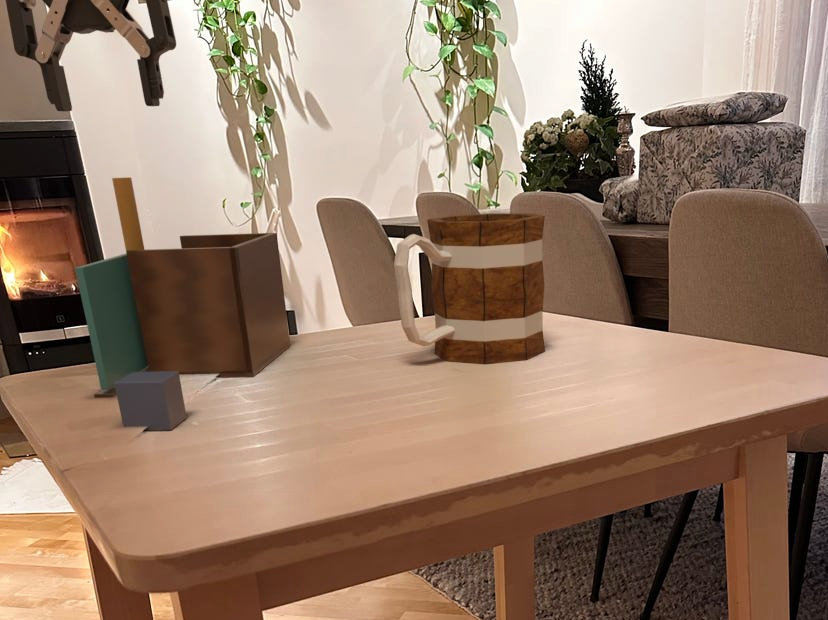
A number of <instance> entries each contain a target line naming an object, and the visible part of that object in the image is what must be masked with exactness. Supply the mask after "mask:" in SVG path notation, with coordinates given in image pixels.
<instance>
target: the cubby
mask: <svg viewBox="0 0 828 620" xmlns="http://www.w3.org/2000/svg"><path fill="white" fill-rule="evenodd" d="M179 240H180V246H181V247H180V248H156V249H155V248H154V249H152V248H151V249H144V250H127V251H126V250H125V254H127V259H128V264H129V269H130V274H131V280H132V285H133V290H134V295H135V300H136V306H137V311H138V316H139V321H140V327H141V332H142V337H143V342H144V347H145V353H146V358H147V363H148V367H146V368H144V369H143V370H141V371H139V372H158V371H178V372H179V376H181V375H216V376H214V378H216V379H217V378H254V377H255V376H256V375H257V374H259V373H260V372H261V371H262V370H264V368H267V366H268V365H269V364H271V363H272V362H273V361H274V360H275V359H276V358H278V357H279V356H280V355H282V354H283V353H284V352H285V351H286V350H287V349H288V348H291V339H290V332H289V331H290V330H289V322H288V315H287V306H286V298H285V291H284V283H283V275H282V274H283V273H282V266H281V257H280V249H279V242H278V241H279V240H278V234H277V232H259V233H255V232H253V233H227V234H226V233H224V234H223V233H222V234H191V235H186V234H185V235H179ZM93 397H94V398H95V399H101V398H102V399H103V398H105V399H106V398H107V399H108V398H115V397H117V394H116V389H115V386H114V387H112V388H110V389H108V390H101V389H100V390H99V391H97V392H96V393H94V394H93Z"/></svg>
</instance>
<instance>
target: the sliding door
mask: <svg viewBox="0 0 828 620" xmlns="http://www.w3.org/2000/svg"><path fill="white" fill-rule="evenodd" d="M111 180H112V181H111V182H112V185H113V190H114V195H115V201H116V207H117V212H118V216H119V221H120V222H119V223H120V227H121V232H122V237H123V243H124V247H125V252H126V251H127V250H145V245H144V240H143V234H142V227H141V223H140V217H139V212H138V207H137V202H136V196H135V190H134V185H133V179H132V177H131V176H129V177H128V176H127V177H126V176H125V177H112V178H111ZM74 271H75V275H76V279H77V283H78V284H77V285H78V289H79V293H80V298H81V303H82V308H83V313H84V316H85V320H86V326H87V330H88V335H89V339H90V344H91V349H92V353H93V358H94V363H95V368H96V372H97V376H98V381H99V386H100V391H101V390H108V389H110V388H112V387H114V386H115V384H114V383H115V382H117V381H118V380H120V379H122V378H124V377H125V376H127V375H129V374H130V373H132V372H139V371H141V370H143V369H144V368H146V367H148V363H147V358H146V353H145V347H144V342H143V337H142V332H141V327H140V321H139V316H138V311H137V306H136V300H135V295H134V290H133V285H132V280H131V274H130V269H129V264H128V259H127V254H126V253H122V254H119V255H116V256H112V257H108V258H105V259H101V260H98V261H94V262H91V263H87V264H84V265H80V266H76V267H74Z"/></svg>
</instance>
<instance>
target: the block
mask: <svg viewBox="0 0 828 620" xmlns="http://www.w3.org/2000/svg"><path fill="white" fill-rule="evenodd" d="M114 384H115V389H116V394H117V395H116V398H117V402H118V408H119V413H120V418H121V422H122V427H123V428H137V427H138V428H139V427H141V428H142V427H143V428H144V427H145V428H144V429H143V430H142V432H155V431H156V432H160V431H161V432H164V431H167V432H168V431H173V429H175V428H176V427H178V426H179V425H180V424H181V423H182V422H183V421H185V420H186V419H187V418H188V417H187V412H186V406H185V401H184V400H185V399H184V394H183V389H182V382H181V377H180V375H179V372H178V371H158V372H132V373H130V374H129V375H127V376H125V377H124V378H122V379H120V380H118V381H117V382H115V383H114Z"/></svg>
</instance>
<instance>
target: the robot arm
mask: <svg viewBox="0 0 828 620" xmlns="http://www.w3.org/2000/svg"><path fill="white" fill-rule="evenodd" d="M142 1H143V2H146V8H147V12H148V16H149V20H150V26H151V30H152V35H153V36H152V37H149V36H148V35H147V34H146V33H145V31H144V29H143V27H142V26H141V25H140V24H139V23H138V21H137V20H136V19H135V17H134V16H133V15H132V14H131V13H130V11H128V9H127V8H128V5H129V3H130V0H42V2H43V3H44V5H46V6H47V8H48V9H49V10H48V12H47V14H46V17H45V20H44V22H43V24H42V27H41V37H40V39H39V41H38V37H37V32H36V31H37V30H36V26H35V24H36V23H35V20H34V14H33V9H34V8H35V7H36V4H37V0H5V5H6V10H7V16H8V21H9V22H8V23H9V27H10V32H11V39H12V45H13V49H14V52H15V53H16V54H17V56H19V57H24V58H26V59H30V60H31V61H35V62H36V63H37V64H38V65H39V67H40V69H41V70H40V71H41V74H42V75H41V76H42V79H43V84H44V88H45V92H46V97H47V99H48V101H49V103H50V104H51V105H54V107H55V110H56V111H57V112H72V111H73V105H72V101H71V96H70V91H69V87H68V82H67V77H66V74H65V69H64V68H65V67H64V65H60V61H61V58H62V56H63V53H64V50H65V48H66V46H67V45H68V44H69V43H70V42H71V40H72V37H73V35H74V33H75V34H79V35H86V34H87V35H89V34H93V33H94V32H97V31H98V32H101V33H106V34H107V33H115V31H117V32H118V34H119V35H120V36H121V37H122V38H124V39H125V40H126V41H127V43H128V44H129V45H130V46H131V47H132V48H133V50H134V51H135V52H136V53H137V55H138V56H139V58H138V59H136V61H137V68H138V73H139V79H140V84H141V90H142V94H143V95H142V96H143V100H144V104H145V106H147V107H160V105H161V102H160V101H161V100H162V99H164V94H165V91H164V85H163V78H162V74H161V73H162V71H161V67H160V58H161V56H162V55H163V54H166V53H167V52H169V51H173V50H175V49H176V47H177V39H176V35H175V34H176V33H175V31H174V30H175V29H174V25H173V21H172V16H171V11H170V7H169V2H168V0H142ZM160 99H161V100H160Z"/></svg>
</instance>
